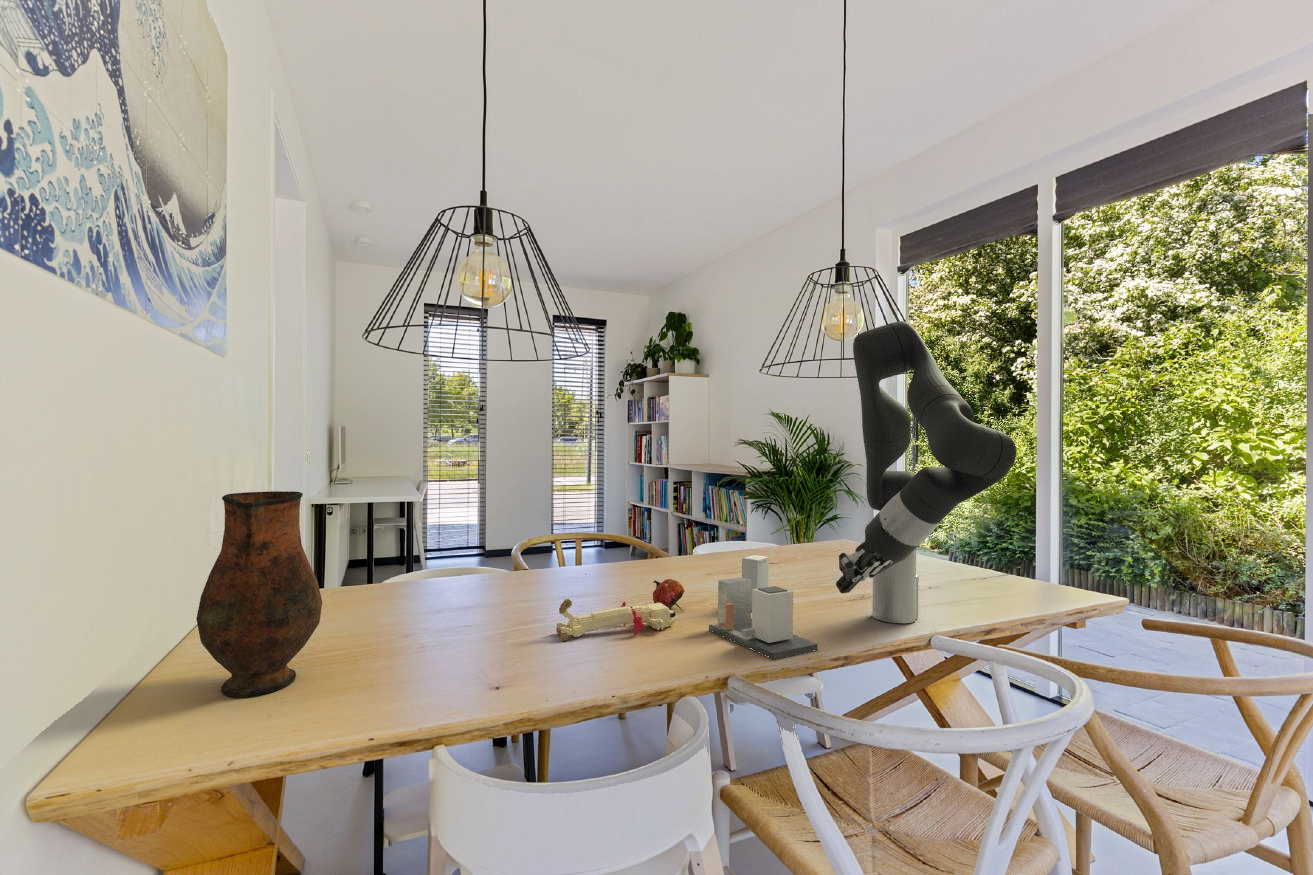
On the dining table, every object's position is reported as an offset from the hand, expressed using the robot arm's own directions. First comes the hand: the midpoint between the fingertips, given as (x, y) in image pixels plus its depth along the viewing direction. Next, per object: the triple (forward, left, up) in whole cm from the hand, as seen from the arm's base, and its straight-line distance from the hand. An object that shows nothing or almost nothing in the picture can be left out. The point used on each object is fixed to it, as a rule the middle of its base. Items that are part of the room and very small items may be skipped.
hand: (841, 588), depth 106 cm
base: (0, -21, -14) cm, 25 cm away
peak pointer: (+4, -25, -13) cm, 29 cm away
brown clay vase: (+84, -43, -15) cm, 95 cm away
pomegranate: (+4, -49, -15) cm, 51 cm away
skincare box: (-15, -41, -15) cm, 46 cm away
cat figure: (+22, -39, -15) cm, 47 cm away
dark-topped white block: (+1, -17, -13) cm, 22 cm away
